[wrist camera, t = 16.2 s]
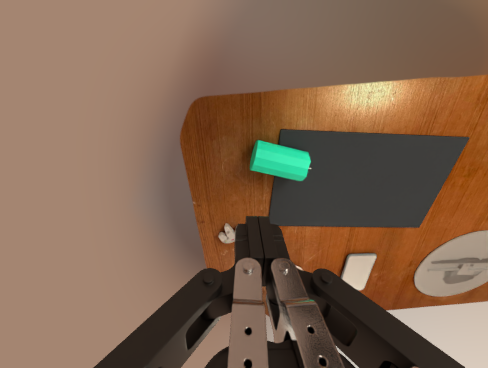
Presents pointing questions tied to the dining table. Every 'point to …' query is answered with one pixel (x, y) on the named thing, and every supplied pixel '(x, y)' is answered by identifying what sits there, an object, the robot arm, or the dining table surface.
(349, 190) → the mat
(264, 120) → the dining table surface
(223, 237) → the game controller
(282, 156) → the candle
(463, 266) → the plate
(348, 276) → the smartphone
